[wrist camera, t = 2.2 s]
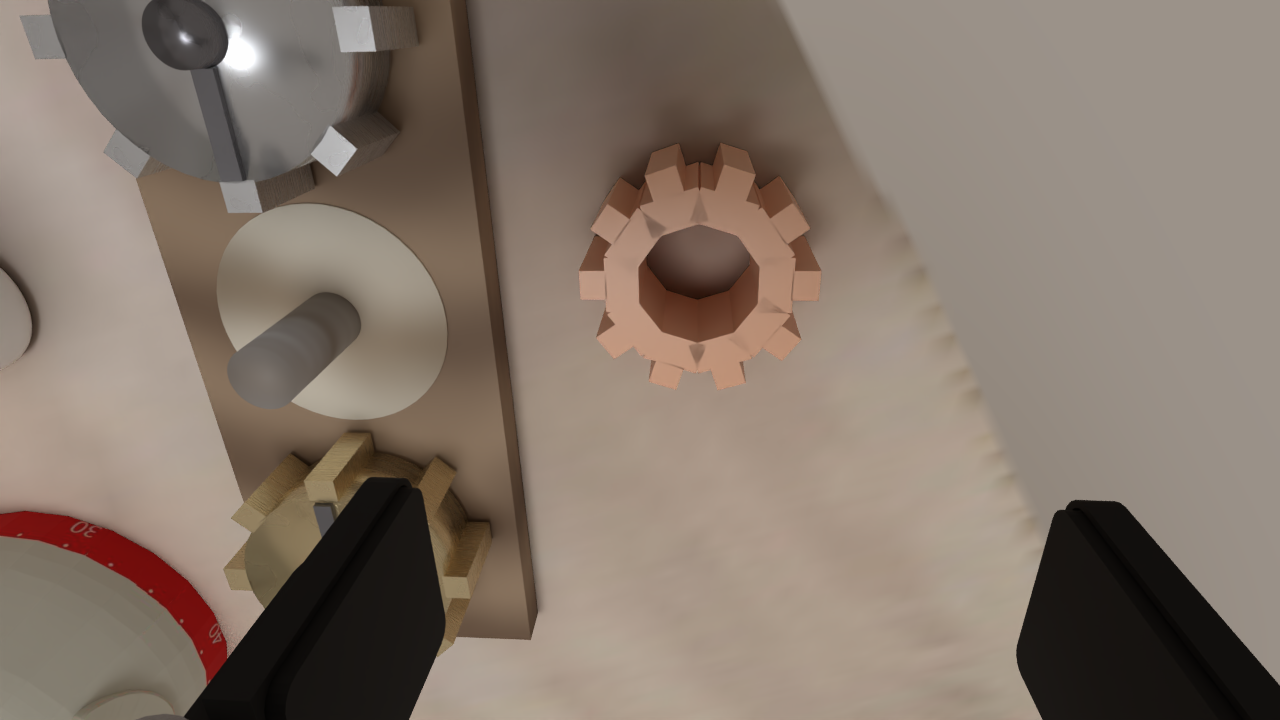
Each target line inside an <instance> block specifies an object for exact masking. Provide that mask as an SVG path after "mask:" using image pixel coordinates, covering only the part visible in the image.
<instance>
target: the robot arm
mask: <svg viewBox="0 0 1280 720" xmlns="http://www.w3.org/2000/svg"><path fill="white" fill-rule="evenodd" d="M445 627H446V617H445V611H444V606H443V601H442V595H441V590H440V584H439V579H438V574H437V568H436V563H435V558H434V552H433V547H432V542H431V536H430V531H429V526H428V520H427V515H426V510H425V504H424V499H423V495H422V492H421V490H420V489H419V488H412V485H411V483H410V481H409V480H408V479H406V478H392V477H370V478H367V479H366V480H365V481H364V482H363V484H362V485H361V486H360V488H359V489H358V490H357V492H356V493H355V494H354V496H353V497H352V498H351V500H350V501H349V502H348V504H347V505H346V506H345V508H344V509H343V510H342V512H341V513H340V514H339V516H338V517H337V518H336V520H335V521H334V522H333V524H332V525H331V526H330V528H329V529H328V530H327V532H326V533H325V534H324V536H323V537H322V538H321V540H320V541H319V542H318V544H317V545H316V546H315V548H314V549H313V550H312V552H311V553H310V554H309V555H308V557H307V558H306V559H305V561H304V562H303V563H302V564H301V565H300V566H299V567H298V568H297V569H296V570H295V571H294V572H293V573H292V574H291V576H290V577H289V578H288V580H287V581H286V582H285V584H284V585H283V586H282V587H281V589H280V590H279V591H278V593H277V594H276V595H275V597H274V598H273V599H272V601H271V602H270V603H269V605H268V606H267V607H266V609H265V610H264V611H263V613H262V614H261V615H260V616H259V618H258V619H257V620H256V622H255V623H254V624H253V626H252V627H251V628H250V630H249V631H248V632H247V634H246V635H245V636H244V638H243V639H242V640H241V642H240V643H239V644H238V645H237V647H236V648H235V649H234V651H233V652H232V653H231V655H230V656H229V657H228V659H227V660H226V661H225V663H224V664H223V665H222V667H221V668H220V669H219V671H218V672H217V673H216V674H215V676H214V677H213V678H212V680H211V681H210V682H209V684H208V685H207V686H206V688H205V689H204V690H203V692H202V693H201V694H200V696H199V697H198V698H197V700H196V701H195V702H194V704H193V705H192V706H191V707H190V709H189V710H188V711H187V713H186V714H185V715H184V717H183V716H178V715H172V714H159V715H151V716H145V717H142V718H139V719H136V720H409V718H410V716H411V714H412V711H413V709H414V707H415V704H416V702H417V700H418V697H419V695H420V693H421V690H422V688H423V686H424V683H425V681H426V679H427V676H428V674H429V672H430V669H431V667H432V665H433V663H434V660H435V658H436V656H437V653H438V651H439V649H440V646H441V644H442V641H443V638H444V634H445ZM1016 656H1017V664H1018V668H1019V671H1020V673H1021V676H1022V678H1023V680H1024V682H1025V684H1026V686H1027V688H1028V690H1029V692H1030V694H1031V697H1032V699H1033V701H1034V703H1035V705H1036V707H1037V709H1038V711H1039V713H1040V715H1041V717H1042V719H1043V720H1280V685H1279V684H1278V683H1277V682H1276V681H1275V679H1274V678H1273V677H1272V676H1271V675H1270V674H1269V672H1268V671H1267V670H1266V669H1265V668H1264V667H1263V666H1262V665H1261V663H1260V662H1259V661H1258V660H1257V659H1256V657H1255V656H1254V655H1253V654H1252V653H1251V652H1250V651H1249V649H1248V648H1247V647H1246V646H1245V645H1244V644H1243V642H1242V641H1241V640H1240V639H1239V638H1238V637H1237V636H1236V634H1235V633H1234V632H1233V631H1232V630H1231V629H1230V627H1229V626H1228V625H1227V624H1226V623H1225V622H1224V620H1223V619H1222V618H1221V617H1220V616H1219V615H1218V613H1217V612H1216V611H1215V610H1214V609H1213V608H1212V607H1211V605H1210V604H1209V603H1208V602H1207V601H1206V600H1205V598H1204V597H1203V596H1202V595H1201V594H1200V593H1199V592H1198V590H1197V589H1196V588H1195V587H1194V586H1193V585H1192V583H1191V582H1190V581H1189V580H1188V579H1187V578H1186V577H1185V575H1184V574H1183V573H1182V572H1181V571H1180V570H1179V569H1178V567H1177V566H1176V565H1175V564H1174V563H1173V562H1172V560H1171V559H1170V558H1169V557H1168V556H1167V554H1166V553H1165V552H1164V551H1163V550H1162V549H1161V548H1160V546H1159V545H1158V544H1157V543H1156V542H1155V541H1154V539H1153V538H1152V537H1151V536H1150V535H1149V534H1148V533H1147V531H1146V530H1145V529H1144V528H1143V527H1142V526H1141V524H1140V523H1139V522H1138V521H1137V520H1136V519H1135V518H1134V516H1133V515H1132V514H1131V513H1130V512H1129V511H1128V509H1127V508H1126V507H1125V506H1123V505H1122V504H1121V503H1119V502H1115V501H1088V500H1074V501H1071V502H1070V503H1069V504H1068V505H1067V507H1066V509H1065V510H1059V511H1057V512H1056V513H1055V514H1054V517H1053V520H1052V523H1051V527H1050V530H1049V534H1048V537H1047V541H1046V544H1045V548H1044V551H1043V555H1042V559H1041V562H1040V566H1039V569H1038V573H1037V576H1036V580H1035V583H1034V587H1033V591H1032V594H1031V598H1030V601H1029V605H1028V608H1027V612H1026V615H1025V619H1024V623H1023V626H1022V630H1021V633H1020V637H1019V640H1018V644H1017V650H1016Z"/></svg>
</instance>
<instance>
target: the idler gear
mask: <svg viewBox="0 0 1280 720" xmlns="http://www.w3.org/2000/svg"><path fill="white" fill-rule="evenodd" d="M755 175H756V174H755V171H754V169H753V166H752V163H751V160H750V158H749V155H748V152H747V151H744V150H741V149H738V148H735V147H732V146H729V145H726V144H723V143H720V145H719V148H718V151H717V154H716V157H715V160H714V163H713V165H709V164H705V163H702V162H700V165H699V164H698V162H696V163H693V164H690V165H688V166H686V164H685V161H684V158H683V155H682V152H681V148H680V145H679V143H678V144H675V145H672V146H669V147H666V148H663V149H661V150H658V151H655V152H652V154H651V157H650V160H649V163H648V167H647V170H646V173H645V179H646V181H645V182H644V184H643V185H642V187H641V188H640V190H637V189H636V188H635V187H633V186H632V185H630V184H629V183H628V182H626V181H625V180H623V179H622V178H621V177H620V178H619V179H618V181H617V182H616V184H615V185H614V187H613V188H612V190H611V191H610V193H609V194H608V196H607V197H606V199H605V200H604V202H603V204H602V206H601V208H600V210H599V212H598V214H597V216H596V219H595V221H594V223H593V225H592V227H591V229H590V230H592V231H593V232H595V233H596V234H598V235H599V236H595V237H594V239H593V241H592V243H591V245H590V248H589V250H588V252H587V254H586V256H585V258H584V261H583V263H582V265H581V267H580V269H579V282H580V297H581V300H606V308H605V311H604V314H603V317H602V321H601V324H600V327H599V330H598V333H597V337H596V338H597V339H598V340H599V342H600V343H601V344H602V345H603V346H604V348H605V349H606V350H607V351H608V352H609V354H610V355H611V356H612V357H613V358H614V359H615V358H617V357H618V356H620V355H621V354H623V353H624V352H626V351H627V350H629V349H630V348H632V347H634V348H635V349H636V350H637V352H638V353H639V354H640V355H641V356H642V355H644V357H643V358H647V359H650V360H652V361H651V368H650V376H649V382H652V383H655V384H659V385H662V386H665V387H669V388H672V389H675V390H676V389H677V386H678V383H679V381H680V378H681V375H682V372H683V370H686V371H690V372H693V373H696V371H698V373H702V372H705V371H709V370H711V372H712V375H713V378H714V381H715V383H716V386H717V389H718V390H721V389H725V388H728V387H732V386H736V385H740V384H743V383H746V381H745V373H744V366H743V361H745V360H749V359H752V357H751V355H752V356H753V357H755V356H756V355H757V353H758V352H759V351H760V350H761V349H762V348H764V349H765V350H767V351H768V352H769V353H771V354H772V355H774V356H775V357H777V358H778V359H780V360H781V361H782V360H783V359H784V358H785V357H786V356H787V355H788V354H789V352H790V351H791V350H792V349H793V348H794V347H795V346H796V345H797V344H798V342H799V341H800V340H801V337H800V334H799V331H798V328H797V324H796V321H795V318H794V315H793V312H792V301H819V291H820V281H821V269H820V267H819V265H818V263H817V261H816V259H815V257H814V255H813V253H812V251H811V249H810V247H809V245H808V242H807V240H806V238H805V236H800V235H802V234H803V233H805V232H806V231H808V230H809V229H811V228H810V227H809V225H808V223H807V221H806V219H805V217H804V215H803V213H802V211H801V209H800V208H799V206H798V204H797V202H796V200H795V198H794V197H793V195H792V194H791V192H790V191H789V189H788V188H787V186H786V185H785V183H784V182H783V180H782V179H781V177H780V176H778V177H777V178H775V179H774V180H773V181H771V182H770V183H768V184H767V185H766V186H764V187H763V188H761V189H759V188H758V186H757V185H756V184H755V182H754V178H755ZM697 224H701V225H704V226H707V227H710V228H714V229H717V230H720V231H723V232H726V233H729V234H733V235H736V236H738V237H739V239H740V240H741V242H742V243H743V244H744V246H745V247H746V249H747V250H748V251H749V253H750V265H749V266H748V268H747V269H746V270H745V271H744V273H743V274H742V275H741V276H740V277H739V279H738V280H737V281H736V282H735V284H734V285H733V286H732V287H731V289H730V290H729V291H725V292H722V293H719V294H715V295H712V296H709V297H705V298H702V299H699V300H696V299H693V298H690V297H687V296H683V295H680V294H677V293H674V292H670V291H667V290H666V289H665V288H664V286H663V285H662V284H661V283H660V281H659V280H658V279H657V277H656V276H655V275H654V274H653V272H652V271H651V270H650V268H649V267H648V266H647V254H648V253H649V252H650V250H651V249H652V248H653V246H654V245H655V244H656V242H657V241H658V239H659V238H660V237H661V236H663V235H666V234H669V233H672V232H676V231H679V230H682V229H685V228H688V227H691V226H694V225H697Z"/></svg>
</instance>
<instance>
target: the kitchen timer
mask: <svg viewBox="0 0 1280 720" xmlns="http://www.w3.org/2000/svg"><path fill="white" fill-rule="evenodd" d="M226 660H227V644H226V641H225V638H224V636H223V634H222V631H221V629H220V627H219V624H218V622H217V620H216V617H215V615H214V613H213V611H212V610H211V609H210V608H209V606H208V605H207V604H206V603H205V601H204V600H203V599H202V598H201V596H200V595H199V594H198V593H197V591H196V590H195V589H194V588H193V586H192V585H191V584H190V583H189V582H188V581H187V580H186V579H185V578H183V577H182V576H181V575H180V574H179V573H177V572H176V571H175V570H174V569H172V568H171V567H170V566H169V565H168V564H166V563H165V562H164V561H163V560H161V559H160V558H159V557H158V556H157V555H155V554H154V553H152V552H150V551H148V550H147V549H145V548H143V547H141V546H139V545H138V544H136V543H134V542H132V541H130V540H128V539H127V538H125V537H123V536H121V535H119V534H117V533H116V532H114V531H111V530H108V529H105V528H102V527H99V526H96V525H93V524H90V523H87V522H84V521H81V520H78V519H75V518H72V517H69V516H62V515H54V514H45V513H37V512H29V511H22V512H14V513H7V514H0V720H136V719H139V718H142V717H145V716H151V715H159V714H172V715H178V716H183V717H184V715H185V714H186V713H187V711H188V710H189V709H190V707H191V706H192V705H193V704H194V702H195V701H196V700H197V698H198V697H199V696H200V694H201V693H202V692H203V690H204V689H205V688H206V686H207V685H208V684H209V682H210V681H211V680H212V678H213V677H214V676H215V674H216V673H217V672H218V671H219V669H220V668H221V667H222V665H223V664H224V663H225V661H226Z"/></svg>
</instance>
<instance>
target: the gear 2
mask: <svg viewBox="0 0 1280 720" xmlns="http://www.w3.org/2000/svg"><path fill="white" fill-rule="evenodd" d="M456 473H457V472H456V471H454V470H453V469H452V468H450V467H449V466H448V465H446V464H445V463H444V462H443V461H441V460H440V459H439V458H437V457H436V456H435V457H434V458H433V459H432V460H431V461H430V462H429V463H428V464H427V465H426V466H425V467H424V468H423V469H422V468H420V467H418V466H416V465H414V464H412V463H410V462H408V461H405V460H403V459H400V458H397V457H394V456H391V455H387V454H382V453H377V452H374V447H373V443H372V439H371V434H370V433H343V435H342V436H341V437H340V438H339V439H338V441H337V442H336V443H335V444H334V445H333V446H332V448H331V449H330V450H329V451H328V452H327V454H326V455H325V456H324V457H323V458H322V459H320V460H318V461H316V462H315V463H313V464H312V465H310V466H307V465H306V464H305V463H303V462H302V461H300V460H299V459H298V458H296V457H295V456H293V455H292V454H291V453H290V454H289V455H288V456H287V457H286V458H285V459H284V460H283V461H282V463H281V464H280V465H279V466H278V467H277V468H276V469H275V470H274V471H273V472H272V473H271V474H270V476H269V477H268V478H267V479H266V480H265V481H264V482H263V483H262V484H261V485H260V486H259V487H258V489H257V490H256V491H255V492H254V493H253V494H252V495H251V496H250V497H249V498H248V499H247V500H246V502H245V503H244V504H243V505H242V506H241V507H240V508H239V509H238V511H237V512H236V513H235V514H234V515H233V516H232V517H231V519H233V520H234V521H236V522H237V523H239V524H240V525H242V526H243V527H245V528H246V529H248V530H249V531H251V532H252V533H251V535H250V537H249V539H248V541H247V542H246V543H245V544H244V545H243V546H242V548H241V549H240V550H239V551H238V552H237V553H236V555H235V556H234V557H233V558H232V559H231V561H230V562H229V563H228V564H227V565H226V566H225V568H224V572H225V575H226V578H227V580H228V583H229V586H230V588H231V590H250V591H253V592H254V594H255V595H256V597H257V599H258V600H259V602H260V603H261V604H262V605H263V607H264V608H265V609H266V607H267V606H268V605H269V603H270V602H271V601H272V599H273V598H274V597H275V595H276V594H277V593H278V591H279V590H280V589H281V587H282V586H283V585H284V584H285V582H286V581H287V580H288V578H289V577H290V576H291V574H292V573H293V572H294V571H295V570H296V569H297V568H298V567H299V566H300V565H301V564H302V563H303V562H304V561H305V559H306V558H307V557H308V555H309V554H310V553H311V552H312V550H313V549H314V548H315V546H316V545H317V544H318V542H319V541H320V540H321V538H322V537H323V536H324V534H325V533H326V532H327V530H328V529H329V528H330V526H331V525H332V524H333V522H334V521H335V520H336V518H337V517H338V516H339V514H340V513H341V512H342V510H343V509H344V508H345V506H346V505H347V504H348V502H349V501H350V500H351V498H352V497H353V496H354V494H355V493H356V492H357V490H358V489H359V488H360V486H361V485H362V484H363V482H364V481H365V480H366V479H367V478H370V477H392V478H406V479H408V480H409V481H410V483H411V485H412V488H419V489H420V490H421V492H422V495H423V499H424V504H425V510H426V515H427V520H428V526H429V531H430V536H431V542H432V547H433V552H434V558H435V563H436V568H437V574H438V579H439V584H440V590H441V595H442V601H443V606H444V611H445V617H446V627H445V634H444V638H443V641H442V644H441V646H440V649H439V651H438V653H437V657H438V656H439V655H441V654H442V653H443V652H444V651H446V650H447V649H448V648H449V647H451V646H452V645H453V644H454V641H455V638H456V636H457V633H458V631H459V628H460V625H461V623H462V620H463V618H464V615H465V612H466V610H467V607H468V605H469V602H470V599H471V597H472V594H473V592H474V589H475V587H476V586H475V585H476V583H477V580H478V578H479V575H480V572H481V570H482V567H483V565H484V562H485V560H486V557H487V554H488V552H489V549H490V547H491V544H492V538H491V531H490V525H489V522H468V520H467V517H466V515H465V513H464V511H463V509H462V507H461V505H460V504H459V502H458V501H457V499H456V498H455V497H454V496H453V494H452V493H451V492H450V491H449V490H448V488H449V486H450V484H451V483H452V481H453V479H454V477H455V475H456Z"/></svg>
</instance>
